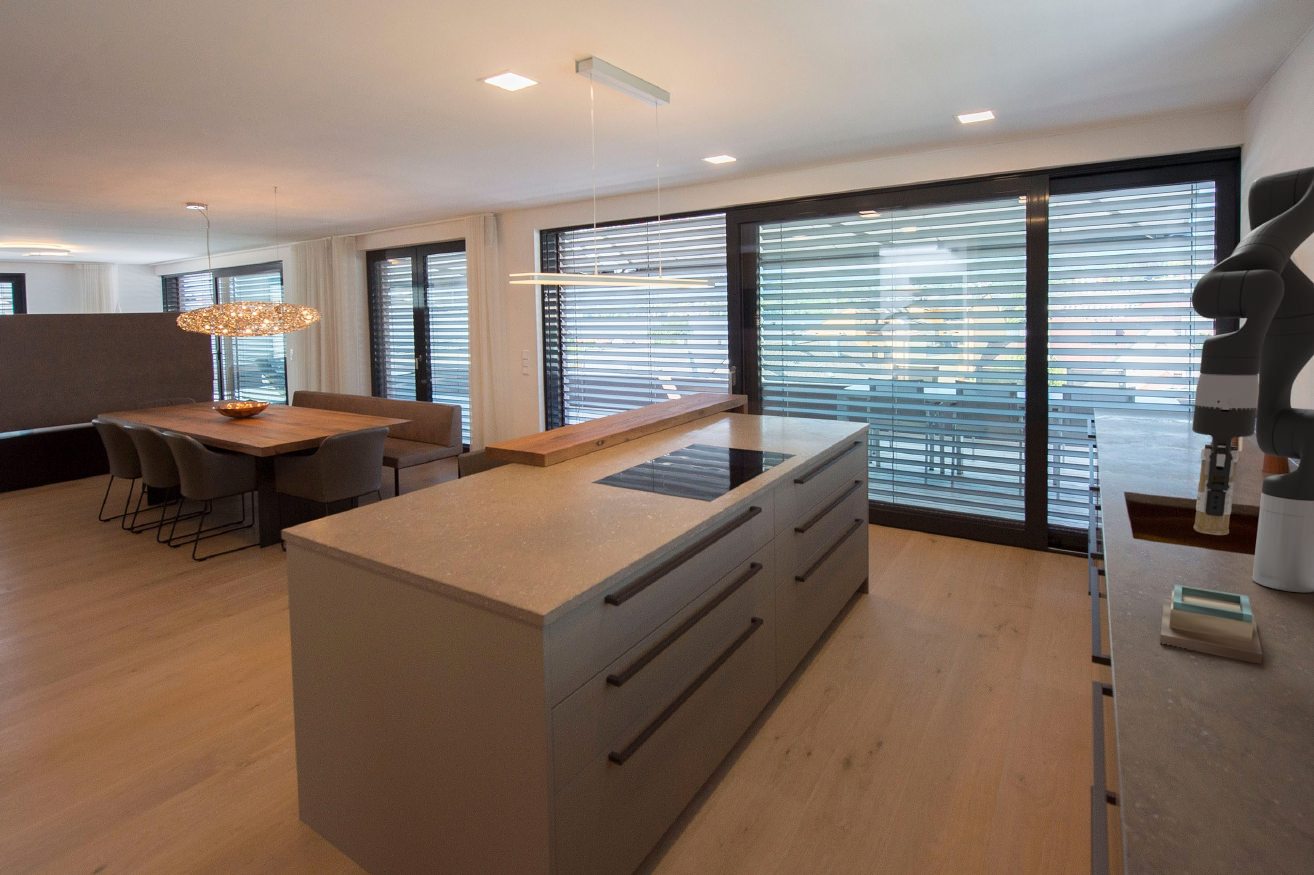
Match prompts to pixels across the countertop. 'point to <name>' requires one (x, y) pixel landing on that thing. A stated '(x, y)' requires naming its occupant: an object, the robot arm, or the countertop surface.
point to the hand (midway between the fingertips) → (1214, 511)
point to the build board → (1210, 641)
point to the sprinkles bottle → (1202, 520)
